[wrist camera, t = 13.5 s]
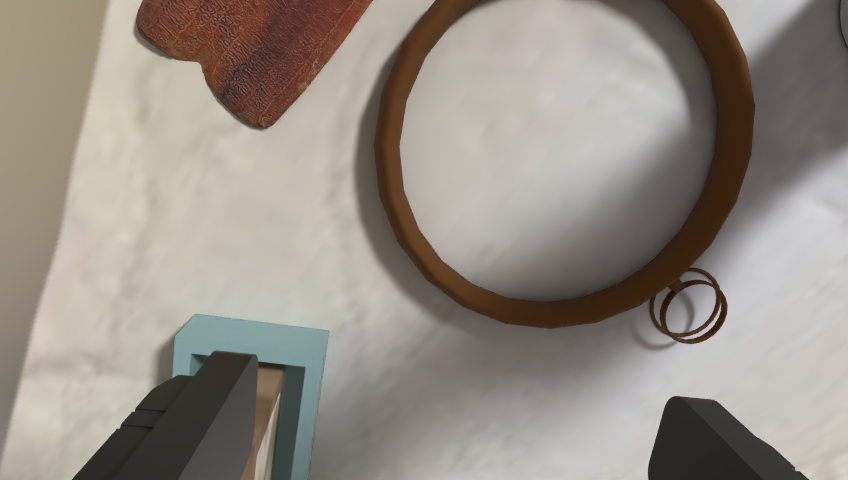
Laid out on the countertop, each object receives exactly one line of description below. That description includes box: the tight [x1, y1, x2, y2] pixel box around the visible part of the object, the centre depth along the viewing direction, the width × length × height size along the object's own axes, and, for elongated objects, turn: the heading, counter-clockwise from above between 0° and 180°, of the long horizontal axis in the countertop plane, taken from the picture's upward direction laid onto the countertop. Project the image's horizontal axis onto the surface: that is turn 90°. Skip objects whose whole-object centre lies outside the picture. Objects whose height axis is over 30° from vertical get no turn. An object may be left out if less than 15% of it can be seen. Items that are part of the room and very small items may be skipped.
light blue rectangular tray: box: [172, 314, 329, 480], centre depth 35 cm, size 16×9×4 cm, turn 170°
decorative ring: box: [374, 0, 755, 344], centre depth 33 cm, size 24×3×30 cm
